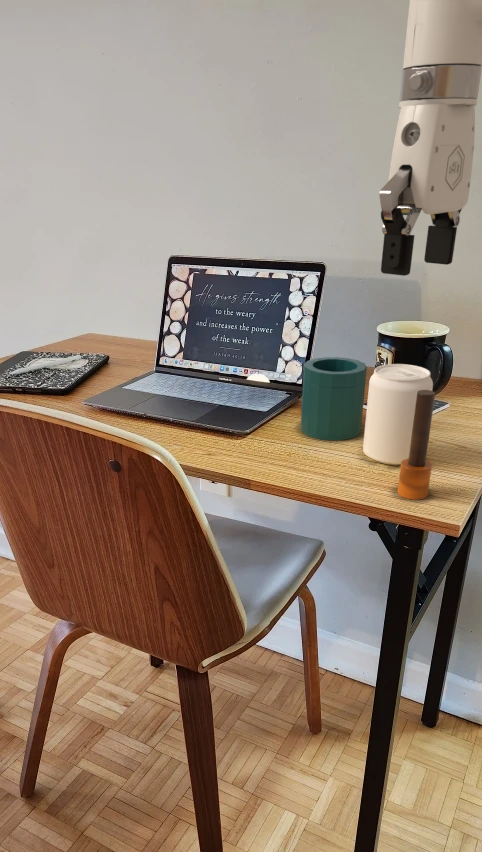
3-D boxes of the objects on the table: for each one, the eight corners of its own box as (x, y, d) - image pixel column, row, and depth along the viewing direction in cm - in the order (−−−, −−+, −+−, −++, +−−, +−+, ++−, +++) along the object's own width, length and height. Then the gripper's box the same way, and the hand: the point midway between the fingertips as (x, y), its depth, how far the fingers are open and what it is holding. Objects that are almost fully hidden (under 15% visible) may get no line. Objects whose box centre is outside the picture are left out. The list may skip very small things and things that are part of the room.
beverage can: (391, 440, 100) (400, 359, 95) (435, 458, 94) (448, 373, 89) (350, 452, 96) (357, 369, 91) (393, 472, 90) (404, 384, 85)
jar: (366, 423, 106) (372, 360, 102) (352, 444, 99) (358, 376, 95) (310, 416, 110) (314, 354, 105) (293, 435, 103) (296, 370, 98)
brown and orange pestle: (429, 489, 86) (444, 389, 80) (425, 501, 83) (440, 398, 77) (400, 484, 87) (413, 385, 81) (394, 496, 84) (407, 395, 78)
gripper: (433, 83, 61) (409, 282, 69) (510, 91, 72) (483, 262, 80) (360, 89, 66) (345, 275, 73) (443, 95, 77) (423, 257, 84)
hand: (417, 268), depth 77 cm, fingers open, 9 cm apart
